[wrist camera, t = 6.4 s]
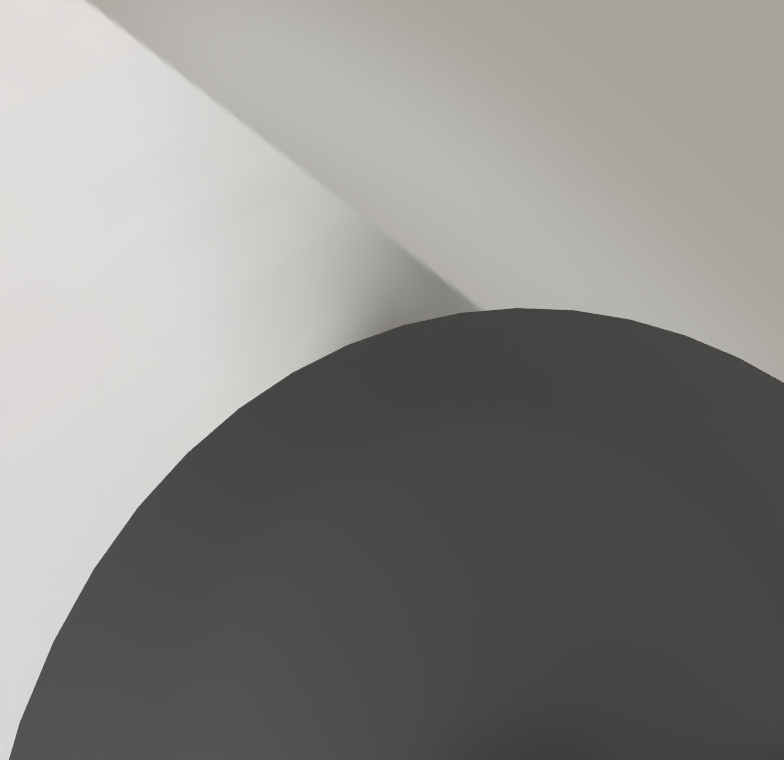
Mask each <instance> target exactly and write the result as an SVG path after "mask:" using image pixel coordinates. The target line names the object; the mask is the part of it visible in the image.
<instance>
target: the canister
mask: <svg viewBox="0 0 784 760" xmlns="http://www.w3.org/2000/svg"><path fill="white" fill-rule="evenodd" d="M9 760H784V383H783V382H781V381H779V380H777V379H776V378H774V377H772V376H770V375H769V374H767V373H765V372H763V371H761V370H759V369H758V368H756V367H754V366H752V365H751V364H749V363H747V362H745V361H743V360H742V359H740V358H737V357H735V356H733V355H730V354H728V353H726V352H723V351H721V350H718V349H716V348H714V347H711V346H709V345H707V344H704V343H702V342H699V341H697V340H695V339H692V338H690V337H687V336H685V335H682V334H678V333H674V332H671V331H668V330H664V329H661V328H657V327H653V326H650V325H647V324H643V323H640V322H636V321H633V320H629V319H623V318H617V317H610V316H605V315H598V314H592V313H586V312H580V311H574V310H549V309H524V308H523V309H522V308H514V309H504V310H491V311H479V312H468V313H459V314H454V315H449V316H445V317H440V318H435V319H431V320H426V321H422V322H417V323H412V324H408V325H403V326H400V327H398V328H395V329H392V330H389V331H386V332H383V333H381V334H378V335H375V336H372V337H369V338H366V339H364V340H361V341H358V342H355V343H352V344H350V345H347V346H345V347H343V348H341V349H339V350H337V351H335V352H333V353H331V354H329V355H327V356H325V357H323V358H321V359H319V360H317V361H315V362H313V363H311V364H309V365H307V366H305V367H303V368H301V369H299V370H297V371H295V372H293V373H292V374H290V375H289V376H287V377H286V378H284V379H283V380H281V381H280V382H278V383H277V384H275V385H274V386H272V387H271V388H269V389H268V390H266V391H265V392H263V393H262V394H260V395H259V396H257V397H256V398H254V399H253V400H251V401H250V402H248V403H247V404H245V405H244V406H242V407H241V408H239V409H238V410H237V411H236V412H235V413H233V414H232V415H231V416H230V417H229V418H228V419H226V420H225V421H224V422H223V423H222V424H221V425H220V426H218V427H217V428H216V429H215V430H214V431H213V432H211V433H210V434H209V435H208V436H207V437H206V438H205V439H203V440H202V441H201V442H200V443H199V444H198V445H196V446H195V447H194V448H193V449H192V450H191V451H189V452H188V453H187V454H186V455H185V456H184V458H183V459H182V460H181V461H180V462H179V463H178V464H177V465H176V466H175V467H174V469H173V470H172V471H171V472H170V473H169V474H168V475H167V476H166V477H165V478H164V480H163V481H162V482H161V483H160V484H159V485H158V486H157V487H156V488H155V489H154V490H153V492H152V493H151V494H150V495H149V496H148V497H147V498H146V499H145V500H144V501H143V503H142V504H141V505H140V506H139V507H138V508H137V510H136V511H135V513H134V514H133V515H132V517H131V518H130V520H129V521H128V522H127V524H126V525H125V527H124V528H123V529H122V531H121V532H120V534H119V535H118V536H117V538H116V539H115V541H114V542H113V543H112V545H111V546H110V547H109V549H108V550H107V552H106V553H105V554H104V556H103V557H102V559H101V560H100V561H99V563H98V564H97V566H96V567H95V568H94V570H93V572H92V574H91V575H90V577H89V579H88V581H87V583H86V584H85V586H84V588H83V590H82V592H81V593H80V595H79V597H78V599H77V601H76V602H75V604H74V606H73V608H72V610H71V611H70V613H69V615H68V617H67V618H66V620H65V622H64V624H63V626H62V627H61V629H60V631H59V633H58V635H57V636H56V638H55V640H54V642H53V645H52V647H51V649H50V652H49V654H48V656H47V659H46V661H45V664H44V666H43V668H42V671H41V673H40V676H39V678H38V680H37V683H36V685H35V688H34V690H33V692H32V695H31V697H30V700H29V702H28V704H27V707H26V709H25V712H24V714H23V716H22V719H21V721H20V724H19V727H18V731H17V734H16V738H15V741H14V745H13V748H12V751H11V755H10V758H9Z"/></svg>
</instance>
